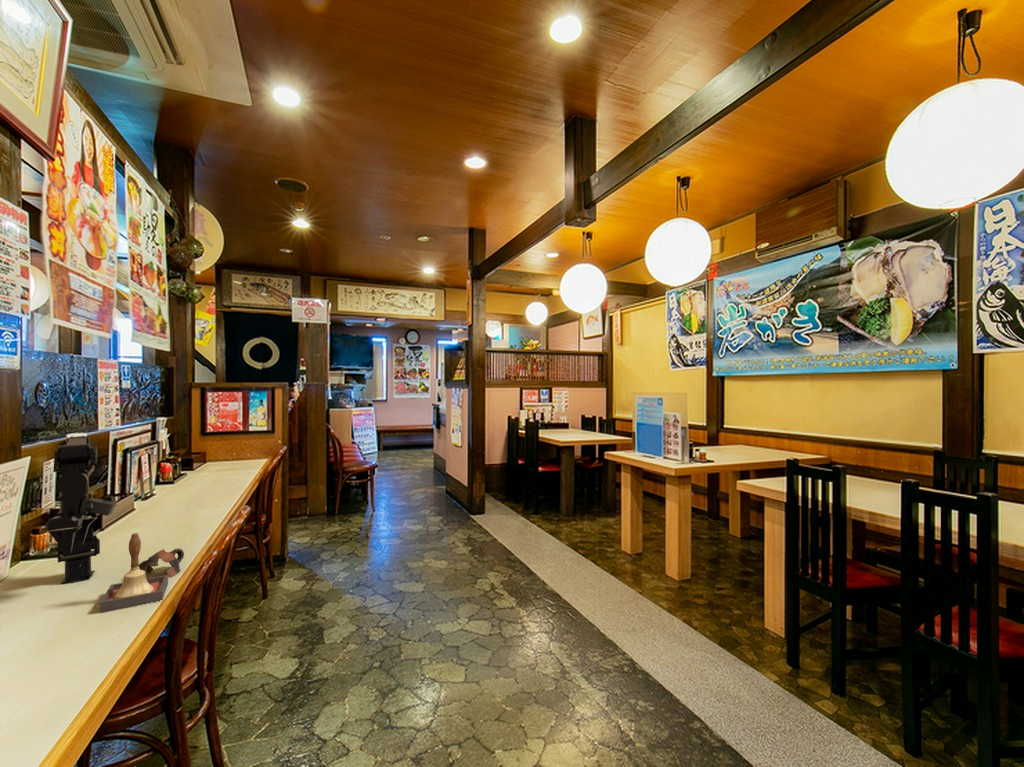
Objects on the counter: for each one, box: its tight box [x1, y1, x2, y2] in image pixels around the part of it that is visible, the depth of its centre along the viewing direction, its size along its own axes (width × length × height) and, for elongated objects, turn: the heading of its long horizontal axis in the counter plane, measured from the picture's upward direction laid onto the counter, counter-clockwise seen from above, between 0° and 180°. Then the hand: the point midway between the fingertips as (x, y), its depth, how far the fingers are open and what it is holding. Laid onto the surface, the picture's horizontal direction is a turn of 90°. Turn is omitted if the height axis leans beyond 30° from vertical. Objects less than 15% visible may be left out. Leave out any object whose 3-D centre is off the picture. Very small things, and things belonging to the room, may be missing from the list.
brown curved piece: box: [139, 547, 185, 578], centre depth 142 cm, size 12×10×8 cm
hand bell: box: [114, 532, 154, 599], centre depth 125 cm, size 8×8×16 cm
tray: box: [99, 574, 169, 614], centre depth 125 cm, size 13×13×2 cm
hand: (74, 549), depth 125 cm, fingers open, 9 cm apart
